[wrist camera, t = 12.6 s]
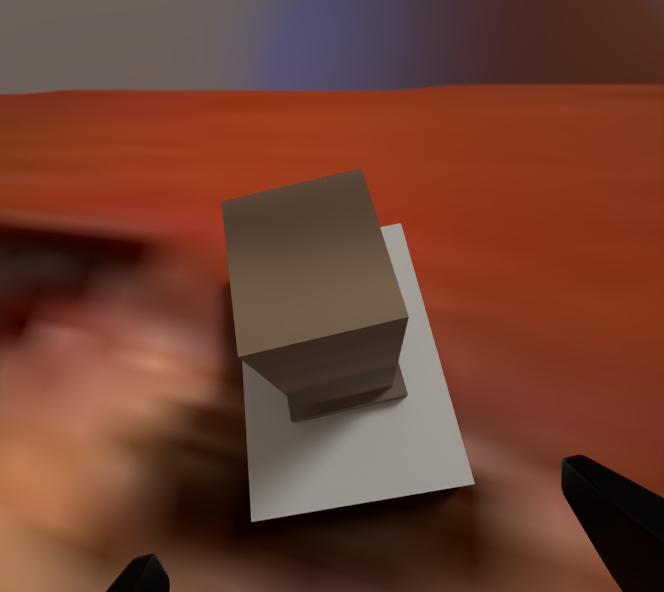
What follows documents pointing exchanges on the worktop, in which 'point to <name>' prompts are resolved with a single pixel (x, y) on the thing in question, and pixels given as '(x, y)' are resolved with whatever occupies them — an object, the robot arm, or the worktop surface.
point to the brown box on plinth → (316, 295)
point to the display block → (358, 430)
